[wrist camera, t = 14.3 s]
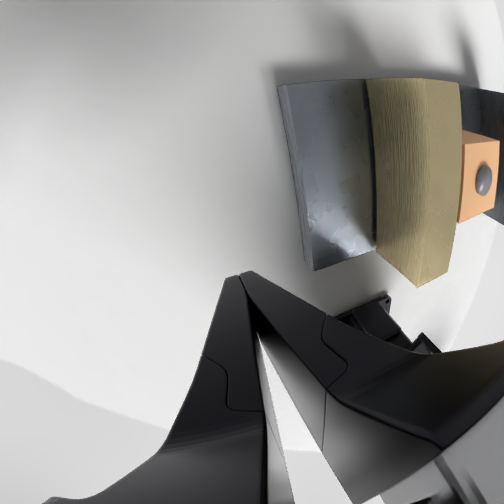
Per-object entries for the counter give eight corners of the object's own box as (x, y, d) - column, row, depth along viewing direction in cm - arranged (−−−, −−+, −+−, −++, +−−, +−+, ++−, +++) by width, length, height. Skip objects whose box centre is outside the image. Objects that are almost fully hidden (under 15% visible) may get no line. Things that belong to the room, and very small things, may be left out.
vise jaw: (405, 240, 20) (447, 271, 15) (376, 251, 19) (417, 287, 15) (401, 79, 13) (458, 82, 9) (365, 79, 13) (424, 78, 9)
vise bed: (478, 198, 23) (523, 223, 17) (305, 260, 20) (350, 319, 15) (480, 89, 16) (533, 101, 11) (276, 86, 14) (335, 76, 8)
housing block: (448, 185, 19) (496, 208, 14) (409, 196, 18) (462, 225, 14) (449, 126, 16) (502, 141, 12) (408, 129, 15) (468, 145, 11)
